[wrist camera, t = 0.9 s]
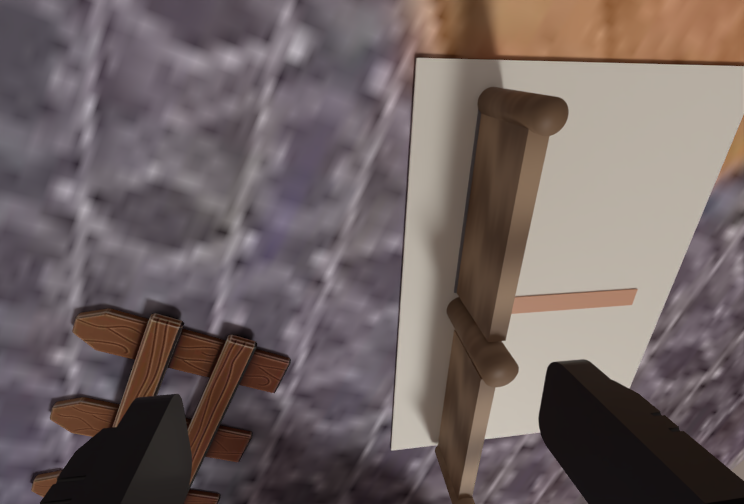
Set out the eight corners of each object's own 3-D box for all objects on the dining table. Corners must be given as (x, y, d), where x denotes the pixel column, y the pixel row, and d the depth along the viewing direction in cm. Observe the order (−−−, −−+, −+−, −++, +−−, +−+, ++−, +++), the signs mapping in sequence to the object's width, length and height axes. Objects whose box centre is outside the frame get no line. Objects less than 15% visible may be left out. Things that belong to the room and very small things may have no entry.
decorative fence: (296, 343, 32) (90, 283, 27) (296, 358, 30) (77, 297, 25) (207, 515, 40) (34, 493, 35) (203, 534, 38) (22, 513, 33)
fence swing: (450, 330, 32) (480, 387, 26) (471, 328, 32) (506, 385, 27) (433, 454, 38) (455, 520, 33) (451, 452, 39) (475, 518, 33)
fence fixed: (473, 86, 24) (536, 97, 18) (509, 86, 25) (585, 97, 18) (444, 320, 32) (480, 389, 26) (472, 318, 33) (515, 385, 26)
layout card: (415, 57, 23) (417, 57, 23) (760, 66, 27) (764, 66, 26) (390, 448, 38) (391, 451, 38) (613, 421, 42) (615, 424, 41)
